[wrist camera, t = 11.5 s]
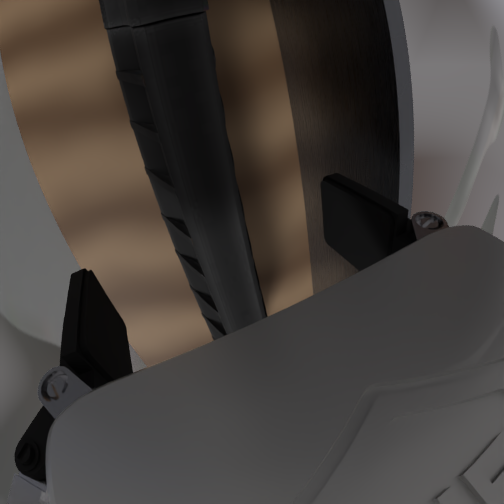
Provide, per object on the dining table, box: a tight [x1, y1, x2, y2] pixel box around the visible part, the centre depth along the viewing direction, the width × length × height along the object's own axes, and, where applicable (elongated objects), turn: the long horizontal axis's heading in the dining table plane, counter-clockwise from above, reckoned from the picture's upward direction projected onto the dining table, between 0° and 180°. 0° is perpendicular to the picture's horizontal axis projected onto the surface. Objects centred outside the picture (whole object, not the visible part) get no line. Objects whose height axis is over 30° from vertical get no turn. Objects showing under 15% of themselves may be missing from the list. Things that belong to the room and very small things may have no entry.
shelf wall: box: [269, 0, 414, 295], centre depth 16 cm, size 30×1×9 cm, turn 13°
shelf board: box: [0, 0, 313, 367], centre depth 18 cm, size 34×18×2 cm, turn 13°
